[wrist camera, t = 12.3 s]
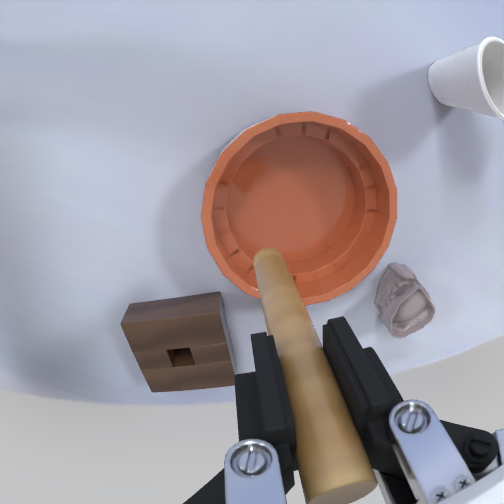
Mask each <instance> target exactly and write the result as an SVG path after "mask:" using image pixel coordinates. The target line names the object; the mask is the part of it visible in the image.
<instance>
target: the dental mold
mask: <svg viewBox="0 0 504 504" xmlns="http://www.w3.org/2000/svg"><path fill="white" fill-rule="evenodd" d="M374 302H375V303H376V306H377V308H378V309H380V310H381V312H382V313H380V317H381V319H382V320H383V322H384V324H385V325H386V326H387V329H388V330H389V332H390V334H391V335H392V336H394V337H397V338H403V337H406V336H408V335H409V334H411V333H414V332H416V331H418V330H420V329H422V328H423V327H424V326H425V325H426V324H428V323H429V322H430V321H431V320H432V318H433V316H434V314H435V307H434V306H433V304H432V302H431V299H430V296H429V294H428V292H427V291H426V289H425V288H424V287H423V286H422V285H421V284H420V283H419V282H418V280H417V278H416V276H415V274H414V273H413V272H412V271H411V270H410V269H409V268H408V267H407V266H406V265H399V264H397V263H391V264H389V265H388V268H387V270H386V271H385V273H384V274H383V276H382V278H381V281H380V282H379V285H378V289H377V295H376V298H375V301H374Z"/></svg>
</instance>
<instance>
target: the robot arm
mask: <svg viewBox="0 0 504 504" xmlns="http://www.w3.org/2000/svg"><path fill="white" fill-rule="evenodd" d="M251 341H252V348H253V355H254V362H255V369H256V372H250V373H243V374H237V375H235V393H236V406H237V418H238V431H239V442H238V443H237V444H235V445H233V446H232V447H231V448H230V449H229V450H228V452H227V454H226V455H225V461H224V469H222V471H220V472H219V473H218V474H217V475H216V476H215V477H214V478H213V479H212V480H210V481H209V482H208V483H207V484H206V485H205V486H203V487H202V488H201V489H200V490H199V491H198V492H196V493H195V494H194V495H193V496H192V497H191V498H189V499H188V500H187V501H186V502H184V503H183V504H287V501H286V496H285V495H286V494H287V493H288V492H289V490H290V489H291V488H292V487H293V486H294V485H295V482H294V473H293V471H296V470H298V466H297V461H296V457H295V450H296V436H295V426H294V421H293V416H292V412H291V407H290V403H289V399H288V395H287V391H286V386H285V382H284V378H283V374H282V370H281V366H280V361H279V357H278V353H277V349H276V345H275V340H274V336H273V335H269V336H267V333H266V332H262V333H256V334H251ZM323 349H324V352H325V354H326V356H327V359H328V361H329V364H330V366H331V368H332V371H333V373H334V375H335V378H336V380H337V383H338V385H339V388H340V390H341V392H342V395H343V397H344V400H345V402H346V405H347V407H348V409H349V412H350V414H351V417H352V419H353V422H354V424H355V427H356V429H357V432H358V433H359V436H360V438H361V441H362V443H363V446H364V448H365V451H366V453H367V456H368V459H369V461H370V464H371V466H372V468H373V471H374V474H375V477H376V479H377V482H378V484H379V487H380V489H381V492H382V494H383V497H384V499H385V502H386V504H504V429H500V430H496V431H495V432H494V433H492V434H490V433H489V432H486V431H484V430H479V429H475V428H471V427H466V426H462V425H458V424H454V423H450V422H446V421H442V420H439V419H438V417H437V415H436V414H435V412H434V411H433V409H432V408H431V407H430V406H429V405H428V404H426V403H424V402H422V401H419V400H406V401H404V400H403V398H402V397H401V395H400V393H399V391H398V390H397V388H396V386H395V384H394V383H393V381H392V380H391V378H390V376H389V374H388V372H387V371H386V369H385V367H384V366H383V364H382V362H381V361H380V359H379V357H378V356H377V354H376V352H375V351H374V349H373V348H372V347H368V348H364V349H363V348H362V347H361V345H360V343H359V341H358V340H357V338H356V336H355V334H354V333H353V331H352V329H351V327H350V326H349V324H348V322H347V321H346V319H345V317H338V318H334V319H329V320H328V322H327V324H325V325H323Z"/></svg>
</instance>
